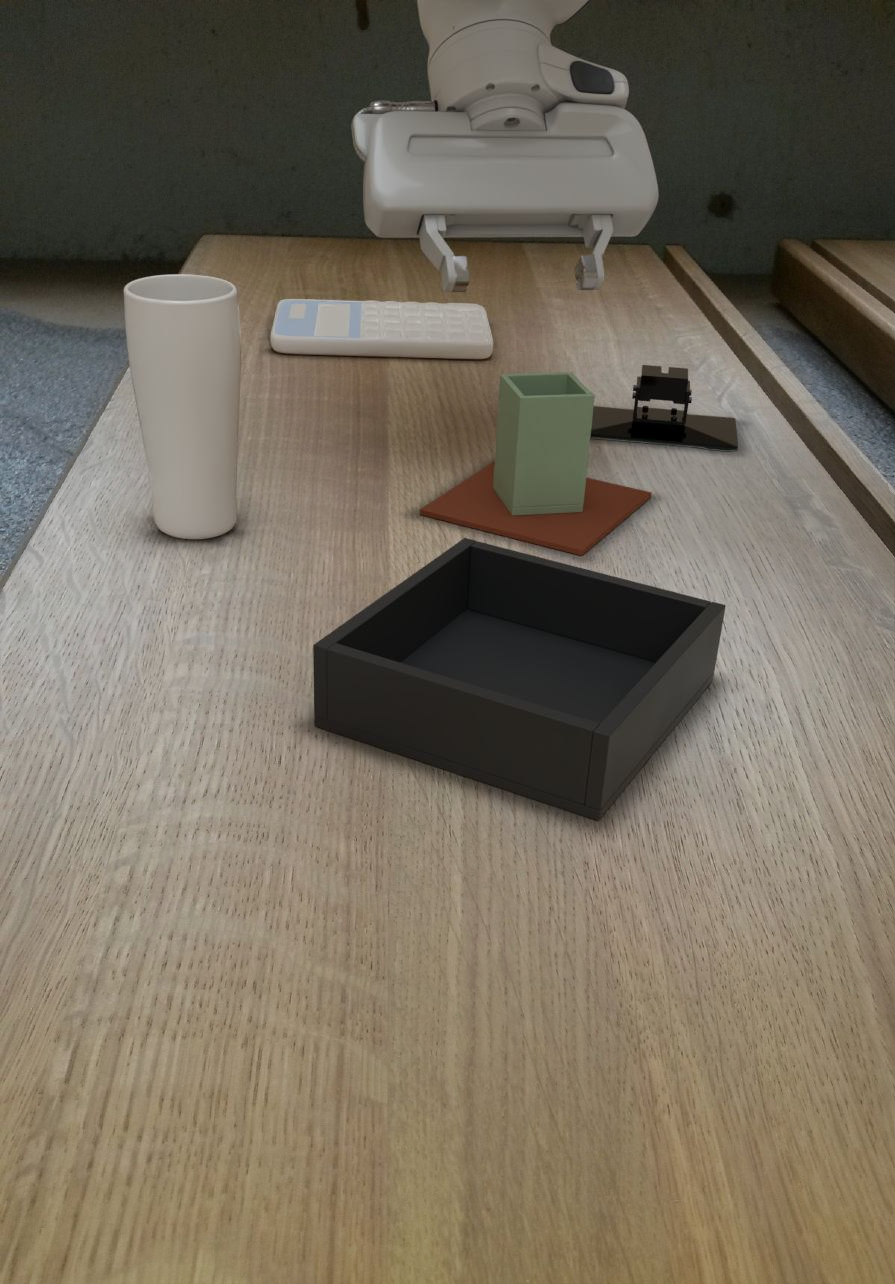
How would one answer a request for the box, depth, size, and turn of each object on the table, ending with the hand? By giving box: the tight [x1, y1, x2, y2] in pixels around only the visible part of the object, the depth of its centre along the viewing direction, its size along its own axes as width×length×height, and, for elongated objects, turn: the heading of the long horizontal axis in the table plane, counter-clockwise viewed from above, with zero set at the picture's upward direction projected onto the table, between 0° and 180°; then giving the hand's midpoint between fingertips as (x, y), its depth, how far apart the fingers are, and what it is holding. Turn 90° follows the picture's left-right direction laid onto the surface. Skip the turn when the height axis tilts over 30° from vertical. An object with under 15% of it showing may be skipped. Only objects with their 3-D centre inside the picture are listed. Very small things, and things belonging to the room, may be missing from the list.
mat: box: [419, 460, 652, 557], centre depth 93 cm, size 12×12×1 cm
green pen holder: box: [493, 371, 596, 516], centre depth 91 cm, size 5×5×8 cm
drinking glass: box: [122, 273, 242, 540], centre depth 84 cm, size 7×7×15 cm
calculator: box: [269, 298, 494, 360], centre depth 126 cm, size 13×20×2 cm, turn 92°
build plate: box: [590, 364, 739, 452], centre depth 107 cm, size 12×7×5 cm, turn 82°
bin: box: [312, 537, 727, 821], centre depth 70 cm, size 16×16×5 cm
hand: (525, 287), depth 91 cm, fingers open, 8 cm apart
